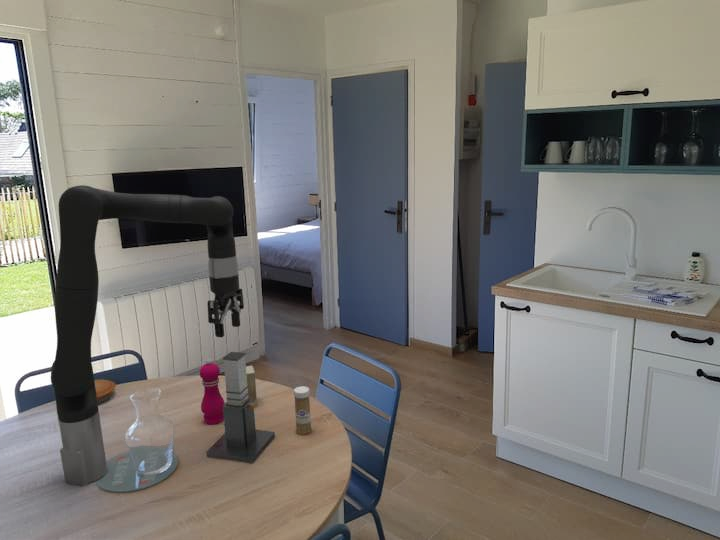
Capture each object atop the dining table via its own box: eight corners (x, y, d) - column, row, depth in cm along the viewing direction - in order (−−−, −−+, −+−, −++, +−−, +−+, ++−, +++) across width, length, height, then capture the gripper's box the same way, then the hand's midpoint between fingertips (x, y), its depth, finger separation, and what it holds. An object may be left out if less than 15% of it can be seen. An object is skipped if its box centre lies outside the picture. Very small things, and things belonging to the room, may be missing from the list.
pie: (126, 391, 191) (125, 378, 190) (93, 412, 176) (91, 398, 175) (91, 387, 195) (89, 374, 194) (56, 407, 181) (53, 393, 180)
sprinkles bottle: (297, 436, 158) (295, 393, 155) (294, 428, 162) (292, 387, 159) (313, 433, 159) (310, 391, 156) (309, 425, 164) (307, 384, 161)
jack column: (243, 427, 149) (237, 359, 145) (228, 425, 150) (222, 357, 146) (250, 419, 153) (245, 353, 149) (236, 417, 155) (230, 351, 150)
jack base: (252, 463, 145) (249, 417, 142) (206, 456, 149) (202, 411, 146) (275, 436, 158) (272, 393, 155) (232, 430, 162) (228, 389, 159)
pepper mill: (212, 427, 164) (206, 365, 160) (197, 420, 169) (191, 360, 164) (231, 417, 170) (225, 358, 165) (216, 411, 174) (210, 353, 170)
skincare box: (242, 400, 181) (239, 366, 178) (255, 398, 182) (252, 364, 180) (244, 409, 175) (241, 374, 172) (257, 407, 176) (254, 372, 174)
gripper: (225, 266, 151) (229, 322, 154) (195, 278, 137) (201, 339, 141) (249, 267, 149) (253, 324, 152) (222, 280, 135) (227, 341, 139)
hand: (228, 331), depth 147 cm, fingers open, 8 cm apart
